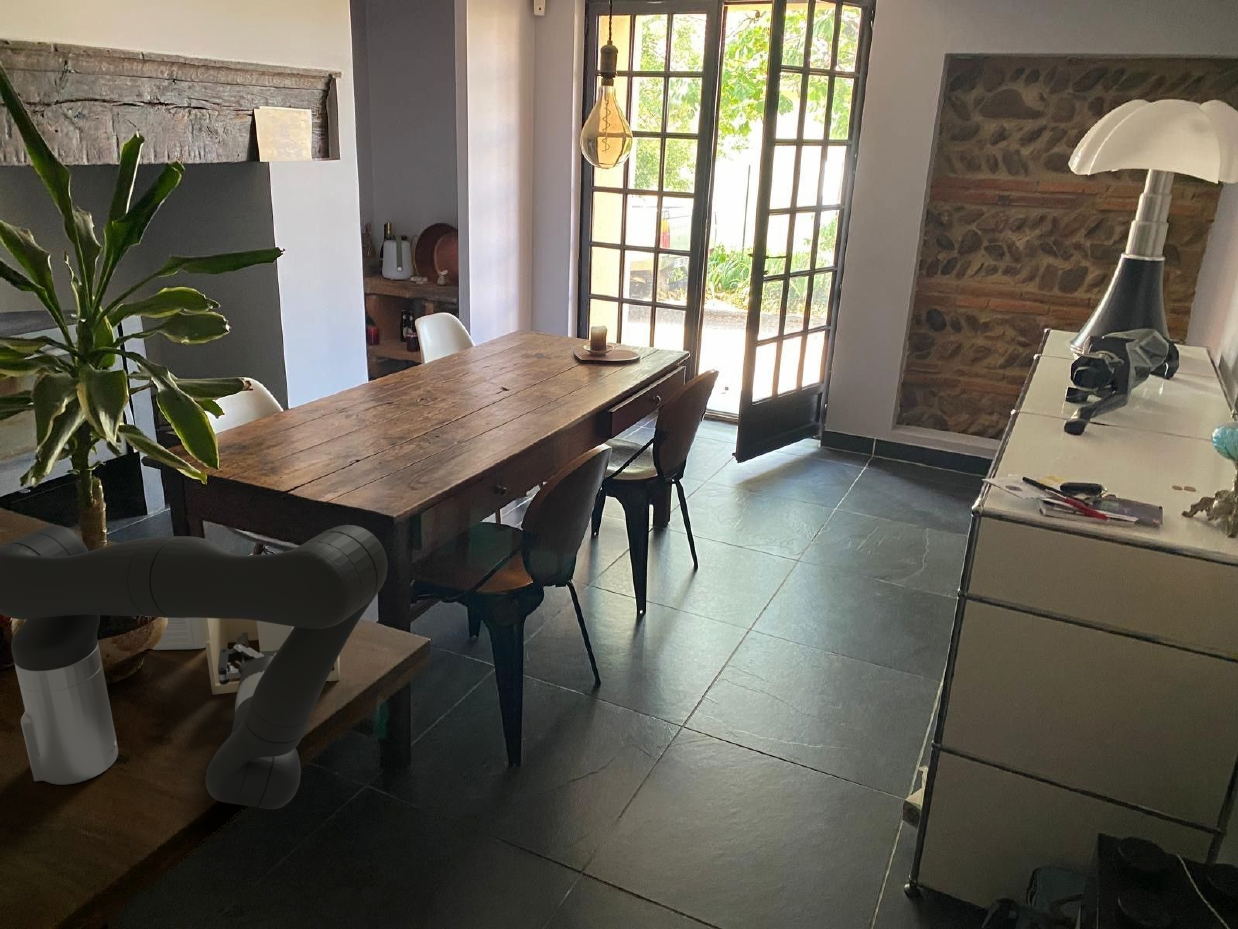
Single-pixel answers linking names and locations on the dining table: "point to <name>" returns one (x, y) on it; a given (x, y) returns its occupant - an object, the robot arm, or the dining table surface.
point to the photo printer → (183, 634)
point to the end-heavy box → (272, 635)
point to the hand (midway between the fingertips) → (275, 634)
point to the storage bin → (228, 631)
